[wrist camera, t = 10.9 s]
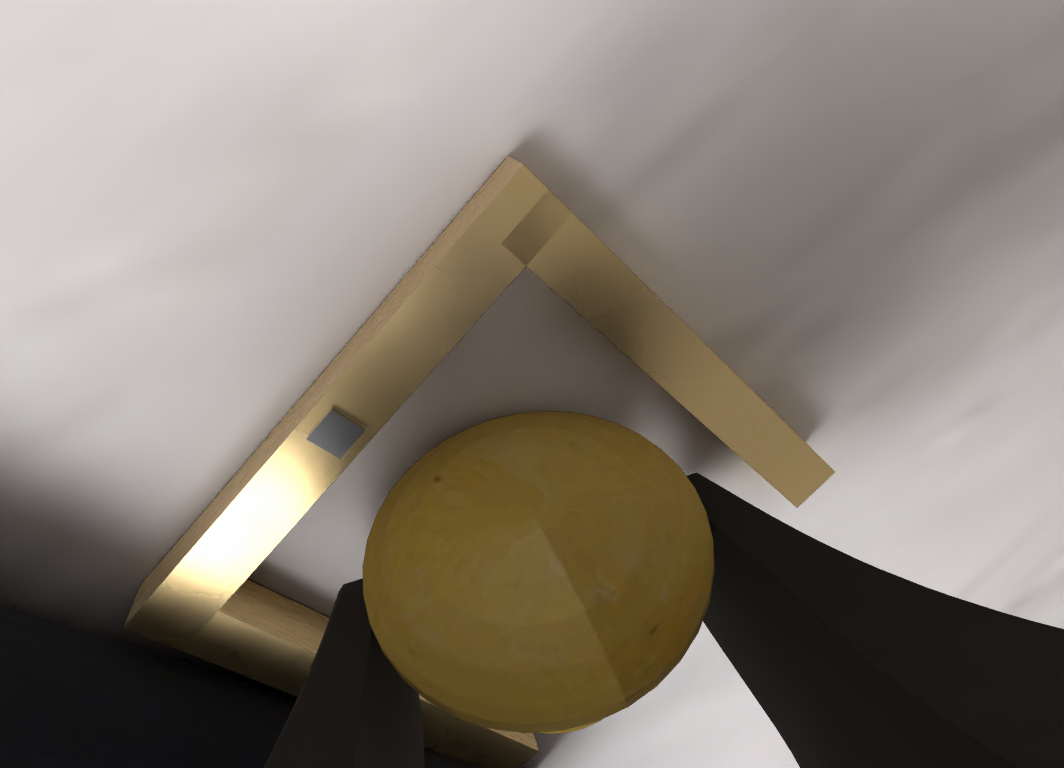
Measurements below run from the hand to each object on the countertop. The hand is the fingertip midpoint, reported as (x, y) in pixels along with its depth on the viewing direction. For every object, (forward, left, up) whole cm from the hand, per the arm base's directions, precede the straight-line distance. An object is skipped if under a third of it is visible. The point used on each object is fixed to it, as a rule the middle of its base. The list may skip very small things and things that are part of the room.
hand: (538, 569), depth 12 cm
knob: (0, 0, -2) cm, 2 cm away
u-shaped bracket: (0, 0, -1) cm, 1 cm away
